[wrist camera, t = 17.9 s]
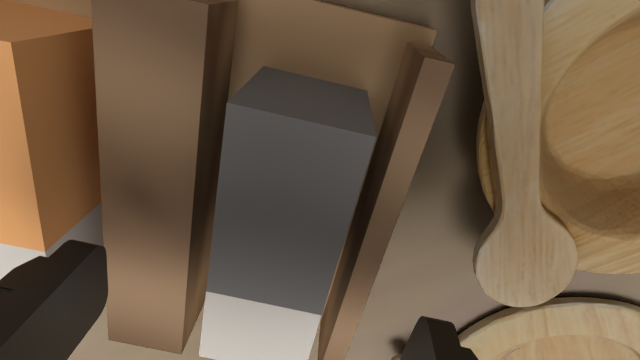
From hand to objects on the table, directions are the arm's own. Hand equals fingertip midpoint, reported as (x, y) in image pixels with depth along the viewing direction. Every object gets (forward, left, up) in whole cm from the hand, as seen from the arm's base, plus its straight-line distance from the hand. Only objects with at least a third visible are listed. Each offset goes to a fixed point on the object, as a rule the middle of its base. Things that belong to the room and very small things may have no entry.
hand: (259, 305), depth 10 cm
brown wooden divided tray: (0, -4, -7) cm, 8 cm away
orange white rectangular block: (0, -8, -6) cm, 10 cm away
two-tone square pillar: (0, 0, -6) cm, 6 cm away
